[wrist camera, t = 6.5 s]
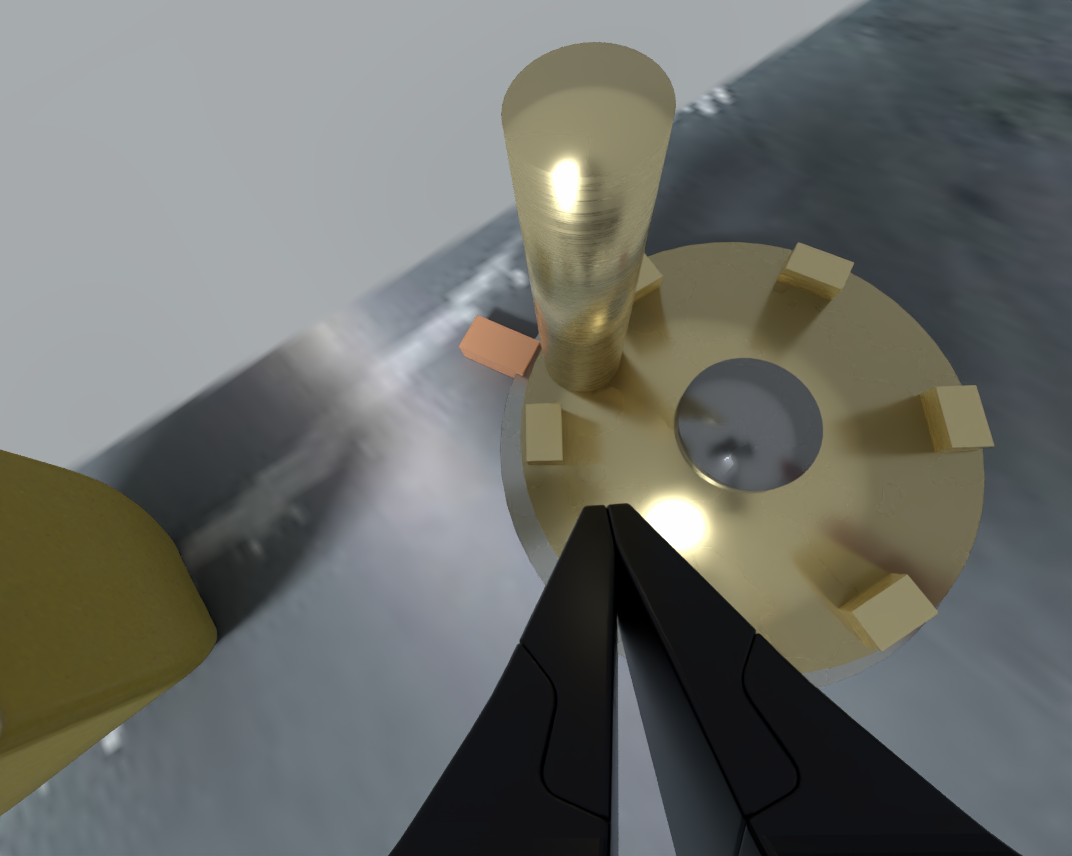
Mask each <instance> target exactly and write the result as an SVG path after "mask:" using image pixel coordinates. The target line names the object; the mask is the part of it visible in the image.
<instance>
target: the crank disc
mask: <svg viewBox="0 0 1072 856" xmlns="http://www.w3.org/2000/svg"><path fill="white" fill-rule="evenodd" d="M675 108H676V101H675V94H674V89H673V86H672V84H671V81H670V80H669V78H668V76H667V75H666V73H665V72H664V71H663V70H662V68H661V67H660V66H659V65H658V64H657V63H655V62H654V61H653V60H652V59H650V58H649V57H647V56H646V55H644V54H642V53H640V52H638V51H636V50H634V49H631V48H628V47H626V46H621V45H617V44H611V43H601V42H591V43H580V44H573V45H569V46H565V47H561V48H559V49H556V50H553V51H551V52H549V53H547V54H544V55H542V56H541V57H539V58H538V59H536V60H534V61H533V62H532V63H530V64H529V65H528V66H526V67H525V68H524V69H523V70H522V71H521V72H520V73H519V74H518V75H517V77H516V78H515V79H514V80H513V81H512V83H511V85H510V87H509V88H508V90H507V93H506V95H505V97H504V101H503V104H502V113H501V116H502V125H503V130H504V137H505V142H506V148H507V153H508V159H509V164H510V171H511V176H512V181H513V188H514V194H515V199H516V205H517V211H518V216H519V222H520V228H521V233H522V239H523V245H524V250H525V256H526V262H527V267H528V273H529V279H530V284H531V290H532V296H533V301H534V307H535V313H536V318H537V324H538V330H539V335H540V341H541V347H542V349H541V351H540V353H539V355H538V357H537V359H536V361H535V364H534V367H533V370H532V372H531V375H530V378H529V381H528V384H527V388H526V393H525V398H524V403H523V408H522V416H521V432H520V443H521V457H522V467H523V472H524V476H525V481H526V486H527V491H528V494H529V497H530V500H531V503H532V506H533V509H534V511H535V514H536V517H537V520H538V522H539V524H540V526H541V528H542V530H543V532H544V534H545V536H546V538H547V540H548V542H549V544H550V546H551V548H552V549H553V551H554V552H555V553H556V555H557V556H558V558H559V557H560V555H561V553H562V551H563V548H564V546H565V544H566V542H567V540H568V538H569V536H570V534H571V532H572V530H573V528H574V526H575V523H576V521H577V519H578V517H579V515H580V513H581V511H582V509H583V507H585V506H589V505H604V506H606V508H607V506H608V505H609V504H620V503H628V504H630V505H631V506H632V507H633V508H634V509H635V510H636V511H637V512H638V513H639V514H640V515H641V516H642V517H643V518H644V519H645V520H646V521H647V522H648V523H649V524H650V525H651V526H652V527H653V528H654V529H655V530H656V531H657V532H658V533H659V534H660V535H661V536H662V537H663V538H664V539H665V540H666V541H667V542H668V543H669V544H670V545H671V546H672V547H673V548H674V549H675V550H676V551H677V552H678V553H679V554H680V555H681V556H682V557H683V558H684V559H685V560H687V561H688V562H689V563H690V564H691V565H692V566H693V567H694V568H695V569H696V570H697V571H698V572H699V573H700V574H701V575H702V576H703V577H704V578H705V579H706V580H707V581H708V582H709V583H710V584H711V585H712V586H713V587H714V588H715V589H716V590H717V591H718V592H719V593H720V594H721V595H722V596H723V597H724V598H725V599H726V600H727V601H728V602H729V603H730V604H731V605H732V606H733V607H734V608H735V609H736V610H737V611H738V612H739V613H740V614H741V615H742V616H743V617H744V618H745V619H746V620H747V621H748V622H749V623H750V624H751V625H752V626H753V627H754V628H755V629H756V634H757V633H760V634H761V635H762V636H763V637H764V638H765V639H766V640H767V641H768V642H769V643H770V644H771V645H772V646H773V647H774V648H775V649H776V650H777V651H778V652H779V653H780V654H781V655H783V656H784V657H785V658H786V659H787V660H788V661H789V662H790V663H791V664H792V665H793V666H794V667H795V668H796V669H797V670H798V671H799V672H800V673H808V672H813V671H818V670H822V669H827V668H832V667H837V666H841V665H844V664H847V663H849V662H852V661H855V660H857V659H860V658H863V657H865V656H868V655H871V654H873V653H875V652H877V651H881V652H882V651H884V650H885V649H887V648H888V647H890V646H891V645H893V644H894V643H895V642H897V641H898V640H900V639H901V638H903V637H904V636H906V635H907V634H909V633H910V632H912V631H913V630H915V629H916V628H918V627H919V626H921V625H922V624H923V623H925V622H926V621H928V620H929V619H931V618H932V617H934V616H935V615H937V614H938V613H939V612H938V611H937V610H936V609H935V607H936V606H937V605H938V604H939V603H940V601H941V600H942V599H943V598H944V597H945V596H946V595H947V593H948V592H949V590H950V589H951V587H952V585H953V584H954V582H955V581H956V579H957V577H958V576H959V574H960V573H961V571H962V570H963V568H964V566H965V563H966V561H967V558H968V556H969V554H970V551H971V549H972V547H973V544H974V542H975V539H976V535H977V531H978V527H979V523H980V518H981V514H982V510H983V497H984V484H985V476H984V462H983V450H982V449H986V448H990V447H994V443H993V439H992V436H991V433H990V429H989V426H988V423H987V419H986V416H985V413H984V409H983V406H982V403H981V399H980V396H979V393H978V389H977V386H976V385H965V386H962V385H961V383H960V381H959V379H958V377H957V375H956V373H955V371H954V369H953V367H952V366H951V364H950V363H949V361H948V360H947V359H946V357H945V356H944V354H943V353H942V351H941V350H940V349H939V347H938V346H937V344H936V343H935V341H934V340H933V339H932V338H931V337H930V336H929V335H928V334H927V332H926V331H925V330H924V329H923V328H922V327H921V326H920V325H919V323H918V322H917V321H916V320H915V319H914V318H913V317H912V316H910V315H909V314H908V313H907V312H906V311H905V310H904V309H903V308H902V307H900V306H899V305H898V304H897V303H896V302H895V301H894V300H892V299H891V298H890V297H888V296H887V295H885V294H884V293H883V292H881V291H880V290H878V289H877V288H876V287H874V286H873V285H871V284H870V283H868V282H867V281H865V280H863V279H861V278H859V277H858V276H856V275H854V274H852V273H851V272H850V271H851V269H852V267H853V265H854V262H851V261H849V260H846V259H843V258H840V257H838V256H835V255H832V254H830V253H827V252H824V251H821V250H819V249H816V248H813V247H810V246H808V245H805V244H802V243H799V242H798V243H797V244H796V246H795V247H794V249H793V250H791V249H786V248H781V247H776V246H770V245H765V244H755V243H744V242H712V243H704V244H696V245H688V246H683V247H679V248H675V249H671V250H666V251H662V252H659V253H657V254H654V255H651V256H648V257H647V255H646V254H645V253H644V251H645V247H646V242H647V238H648V233H649V229H650V224H651V220H652V215H653V210H654V206H655V201H656V197H657V192H658V188H659V183H660V179H661V174H662V170H663V165H664V161H665V156H666V152H667V147H668V143H669V138H670V134H671V129H672V125H673V120H674V115H675ZM735 358H753V359H760V360H764V361H768V362H771V363H773V364H776V365H778V366H780V367H782V368H784V369H786V370H787V371H789V372H790V373H792V374H793V375H795V376H796V377H797V378H798V379H799V380H800V381H801V382H802V383H803V384H804V385H805V386H806V387H807V388H808V390H809V391H810V392H811V394H812V395H813V397H814V399H815V400H816V402H817V405H818V407H819V409H820V413H821V417H822V422H823V439H822V445H821V448H820V451H819V454H818V455H817V457H816V459H815V461H814V463H813V464H812V465H811V467H810V468H809V469H808V470H807V471H806V472H805V473H804V474H803V475H802V476H800V477H799V478H798V479H796V480H795V481H793V482H791V483H789V484H787V485H784V486H781V487H779V488H776V489H773V490H769V491H766V492H761V493H752V494H746V493H736V492H731V491H727V490H724V489H721V488H719V487H717V486H714V485H712V484H711V483H709V482H707V481H706V480H704V479H703V478H702V477H700V476H699V475H698V474H697V473H696V472H695V471H694V470H693V469H692V468H691V467H690V466H689V465H688V463H687V462H686V461H685V459H684V458H683V456H682V454H681V452H680V450H679V448H678V445H677V442H676V439H675V433H674V416H675V411H676V407H677V405H678V402H679V400H680V398H681V396H682V395H683V393H684V392H685V390H686V389H687V387H688V386H689V384H690V383H691V382H692V380H693V379H694V378H695V377H696V376H697V375H698V374H699V373H700V372H702V371H703V370H705V369H706V368H708V367H710V366H711V365H713V364H716V363H718V362H721V361H724V360H729V359H735ZM617 621H618V620H617Z"/></svg>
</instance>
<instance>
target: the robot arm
mask: <svg viewBox="0 0 1072 856" xmlns="http://www.w3.org/2000/svg"><path fill="white" fill-rule="evenodd" d="M617 620H618V626H619V631H620V635H621V640H622V643H623V647H624V651H625V655H626V659H627V663H628V667H629V671H630V675H631V679H632V683H633V687H634V691H635V695H636V699H637V703H638V706H639V710H640V714H641V718H642V722H643V726H644V730H645V734H646V738H647V742H648V746H649V750H650V754H651V758H652V762H653V766H654V769H655V773H656V777H657V781H658V785H659V789H660V793H661V797H662V801H663V805H664V809H665V813H666V817H667V821H668V825H669V829H670V832H671V836H672V840H673V844H674V848H675V852H676V856H1022V855H1021V854H1019V853H1018V852H1016V851H1015V850H1013V849H1012V848H1011V847H1009V846H1008V845H1006V844H1005V843H1004V842H1002V841H1001V840H1000V839H998V838H997V837H995V836H994V835H993V834H991V833H990V832H989V831H987V830H986V829H985V828H984V827H982V826H981V825H980V824H979V823H977V822H976V821H975V820H974V819H972V818H971V817H970V816H969V815H967V814H966V813H965V812H964V811H962V810H961V809H960V808H959V807H958V806H956V805H955V804H954V803H953V802H952V801H951V800H949V799H948V798H947V797H946V796H945V795H943V794H942V793H941V792H940V791H939V790H937V789H936V788H935V787H934V786H933V785H931V784H930V783H929V782H928V781H927V780H925V779H924V778H923V777H922V776H921V775H919V774H918V773H917V772H916V771H915V770H913V769H912V768H911V767H910V766H909V765H907V764H906V763H905V762H904V761H903V760H901V759H900V758H899V757H898V756H897V755H895V754H894V753H893V752H892V751H891V750H889V749H888V748H887V747H886V746H885V745H884V744H882V743H881V742H880V741H879V740H878V739H876V738H875V737H874V736H873V735H872V734H870V733H869V732H868V731H867V730H866V729H864V728H863V727H862V726H861V725H860V724H858V723H857V722H856V721H855V720H854V719H852V718H851V717H850V716H849V715H848V714H847V713H846V712H844V711H843V710H842V709H841V708H840V707H839V706H837V705H836V704H835V703H834V702H833V701H832V700H831V699H829V698H828V697H827V696H826V695H825V694H824V693H822V692H821V691H820V690H819V689H818V688H817V687H816V686H814V685H813V684H812V683H811V682H810V681H809V680H808V679H807V678H806V677H805V676H804V675H803V674H802V673H800V672H799V671H798V670H797V669H796V668H795V667H794V666H793V665H792V664H791V663H790V662H789V661H788V660H787V659H786V658H785V657H784V656H783V655H781V654H780V653H779V652H778V651H777V650H776V649H775V648H774V647H773V646H772V645H771V644H770V643H769V642H768V641H767V640H766V639H765V638H764V637H763V636H762V635H761V634H760V633H757V634H756V629H755V628H754V627H753V626H752V625H751V624H750V623H749V622H748V621H747V620H746V619H745V618H744V617H743V616H742V615H741V614H740V613H739V612H738V611H737V610H736V609H735V608H734V607H733V606H732V605H731V604H730V603H729V602H728V601H727V600H726V599H725V598H724V597H723V596H722V595H721V594H720V593H719V592H718V591H717V590H716V589H715V588H714V587H713V586H712V585H711V584H710V583H709V582H708V581H707V580H706V579H705V578H704V577H703V576H702V575H701V574H700V573H699V572H698V571H697V570H696V569H695V568H694V567H693V566H692V565H691V564H690V563H689V562H688V561H687V560H685V559H684V558H683V557H682V556H681V555H680V554H679V553H678V552H677V551H676V550H675V549H674V548H673V547H672V546H671V545H670V544H669V543H668V542H667V541H666V540H665V539H664V538H663V537H662V536H661V535H660V534H659V533H658V532H657V531H656V530H655V529H654V528H653V527H652V526H651V525H650V524H649V523H648V522H647V521H646V520H645V519H644V518H643V517H642V516H641V515H640V514H639V513H638V512H637V511H636V510H635V509H634V508H633V507H632V506H631V505H630V504H628V503H620V504H609V505H608V506H607V508H606V506H604V505H589V506H585V507H583V509H582V511H581V513H580V515H579V517H578V519H577V521H576V523H575V526H574V528H573V530H572V532H571V534H570V536H569V538H568V540H567V542H566V544H565V546H564V548H563V551H562V553H561V555H560V557H559V559H558V561H557V563H556V565H555V567H554V569H553V571H552V573H551V576H550V578H549V580H548V582H547V584H546V586H545V588H544V590H543V592H542V594H541V596H540V599H539V601H538V603H537V605H536V607H535V609H534V611H533V613H532V615H531V617H530V619H529V621H528V624H527V626H526V628H525V630H524V632H523V634H522V636H521V638H520V644H517V646H516V648H515V650H514V652H513V654H512V656H511V658H510V661H509V663H508V665H507V667H506V669H505V670H504V672H503V674H502V676H501V678H500V680H499V682H498V684H497V686H496V688H495V690H494V691H493V693H492V695H491V697H490V699H489V700H488V702H487V704H486V705H485V707H484V709H483V710H482V712H481V714H480V715H479V717H478V719H477V720H476V722H475V724H474V725H473V727H472V729H471V730H470V732H469V733H468V735H467V736H466V738H465V740H464V741H463V743H462V744H461V746H460V747H459V749H458V751H457V752H456V754H455V755H454V757H453V758H452V760H451V761H450V763H449V765H448V766H447V768H446V769H445V771H444V772H443V774H442V776H441V777H440V779H439V780H438V782H437V783H436V785H435V786H434V788H433V790H432V791H431V793H430V794H429V796H428V797H427V799H426V801H425V802H424V804H423V805H422V807H421V808H420V810H419V811H418V813H417V815H416V816H415V818H414V819H413V821H412V822H411V824H410V825H409V827H408V828H407V830H406V831H405V833H404V834H403V836H402V837H401V839H400V840H399V842H398V843H397V845H396V846H395V847H394V849H393V850H392V851H391V853H390V854H389V855H388V856H618V627H617Z"/></svg>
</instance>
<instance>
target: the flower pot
mask: <svg viewBox="0 0 1072 856" xmlns="http://www.w3.org/2000/svg"><path fill="white" fill-rule="evenodd" d="M216 640H217V629H216V627H215V625H214V623H213V621H212V619H211V617H210V615H209V613H208V611H207V608H206V606H205V604H204V603H203V601H202V599H201V597H200V595H199V593H198V591H197V589H196V587H195V585H194V583H193V581H192V579H191V577H190V575H189V573H188V571H187V568H186V566H185V564H184V562H183V561H182V558H181V556H180V554H179V552H178V549H177V547H176V545H175V543H174V542H173V540H172V539H171V537H170V536H169V535H168V534H167V533H166V532H165V531H164V529H163V528H162V527H161V526H160V525H159V524H158V523H157V522H156V521H155V520H154V519H153V518H152V517H151V516H150V515H149V514H148V513H147V512H146V511H145V510H144V509H142V508H141V507H140V506H139V505H137V504H136V503H135V502H133V501H132V500H131V499H129V498H128V497H126V496H125V495H123V494H122V493H120V492H119V491H117V490H115V489H113V488H112V487H110V486H108V485H106V484H104V483H102V482H100V481H98V480H95V479H93V478H91V477H88V476H85V475H83V474H80V473H77V472H74V471H71V470H68V469H65V468H61V467H58V466H55V465H51V464H48V463H45V462H41V461H38V460H34V459H31V458H27V457H24V456H21V455H17V454H13V453H10V452H7V451H3V450H0V816H1V815H3V814H4V813H5V812H7V811H8V810H10V809H11V808H12V807H14V806H15V805H16V804H18V803H19V802H20V801H22V800H23V799H24V798H26V797H27V796H28V795H30V794H31V793H32V792H34V791H35V790H36V789H38V788H39V787H40V786H41V785H43V784H44V783H45V782H47V781H48V780H49V779H50V778H52V777H53V776H54V775H56V774H57V773H58V772H59V771H61V770H62V769H63V768H65V767H66V766H67V765H69V764H70V763H71V762H72V761H74V760H75V759H76V758H78V757H79V756H80V755H81V754H83V753H84V752H85V751H87V750H88V749H89V748H91V747H92V746H93V745H95V744H96V743H97V742H98V741H100V740H101V739H102V738H104V737H105V736H106V735H108V734H109V733H110V732H112V731H113V730H114V729H116V728H117V727H118V726H120V725H121V724H122V723H124V722H125V721H126V720H128V719H129V718H130V717H132V716H133V715H134V714H136V713H137V712H138V711H140V710H141V709H142V708H144V707H145V706H146V705H148V704H149V703H150V702H152V701H153V700H154V699H156V698H157V697H158V696H160V695H161V694H163V693H164V692H165V691H167V690H168V689H170V688H171V687H172V686H174V685H175V684H176V683H178V682H179V681H181V680H182V679H183V678H185V677H186V676H187V675H188V674H190V673H191V672H192V671H193V670H194V669H195V668H197V667H198V666H199V665H200V664H201V663H202V662H203V661H204V660H205V659H206V657H207V656H208V655H209V653H210V652H211V651H212V649H213V647H214V645H215V643H216Z"/></svg>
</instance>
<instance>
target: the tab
mask: <svg viewBox="0 0 1072 856" xmlns="http://www.w3.org/2000/svg"><path fill="white" fill-rule="evenodd" d="M539 345H540V341H538V340H535V339H533V338H531V337H528V336H526V335H523V334H521V333H519V332H516V331H514V330H512V329H509V328H507V327H505V326H502V325H500V324H497V323H495V322H493V321H490V320H488V319H486V318H483V317H481V316H478V315H477V316H476V318H475V320H474V321H473V323H472V325H471V327H470V328H469V330H468V332H467V333H466V335H465V337H464V339H463V340H462V342H461V344H460V345H459V347H460V349H461V351H462V352H463V354H464V356H465V357H467V358H470V359H472V360H474V361H476V362H479V363H481V364H483V365H485V366H488V367H490V368H492V369H494V370H496V371H499V372H501V373H503V374H505V375H508V376H510V377H512V378H514V377H515V374H516V373H517V374H519V375H521V376H523V375H524V373H525V371H526V369H527V367H528V365H529V364H530V362H531V360H532V358H533V356H534V354H535V353H536V351H537V349H538V347H539Z"/></svg>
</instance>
